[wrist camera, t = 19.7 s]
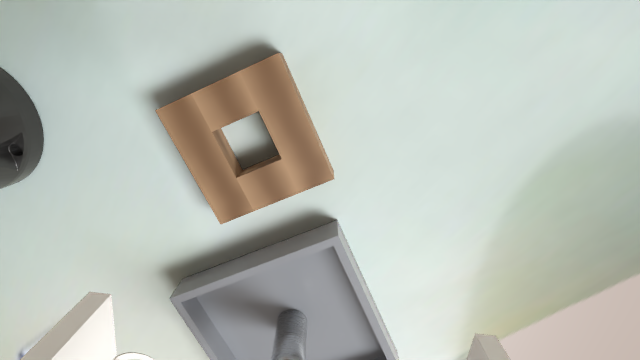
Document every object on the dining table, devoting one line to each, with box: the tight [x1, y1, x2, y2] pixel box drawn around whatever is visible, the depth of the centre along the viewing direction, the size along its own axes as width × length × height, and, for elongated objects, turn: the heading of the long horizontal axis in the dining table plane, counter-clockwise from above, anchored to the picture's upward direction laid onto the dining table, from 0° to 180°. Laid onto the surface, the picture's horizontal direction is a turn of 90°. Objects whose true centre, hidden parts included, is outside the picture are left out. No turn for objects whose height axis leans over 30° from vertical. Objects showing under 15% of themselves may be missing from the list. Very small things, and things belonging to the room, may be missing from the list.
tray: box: [170, 220, 399, 360], centre depth 46 cm, size 22×22×4 cm
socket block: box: [155, 53, 334, 224], centre depth 38 cm, size 14×14×3 cm
